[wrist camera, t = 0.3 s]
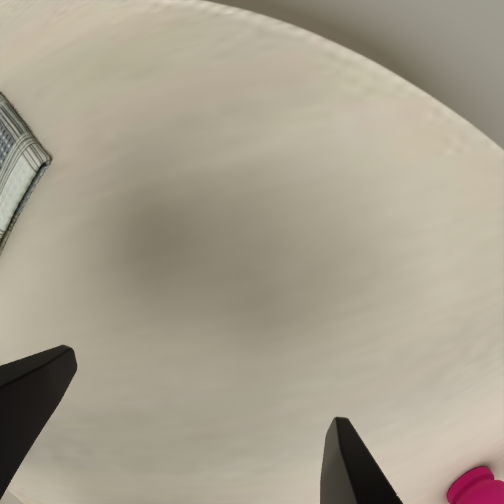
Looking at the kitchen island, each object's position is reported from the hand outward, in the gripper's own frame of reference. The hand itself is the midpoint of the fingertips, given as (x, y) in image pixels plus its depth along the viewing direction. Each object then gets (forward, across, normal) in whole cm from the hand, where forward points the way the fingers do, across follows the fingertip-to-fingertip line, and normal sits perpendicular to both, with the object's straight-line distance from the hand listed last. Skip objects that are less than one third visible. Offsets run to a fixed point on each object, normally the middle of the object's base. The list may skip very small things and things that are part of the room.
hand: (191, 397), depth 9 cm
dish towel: (+17, +34, -1) cm, 37 cm away
